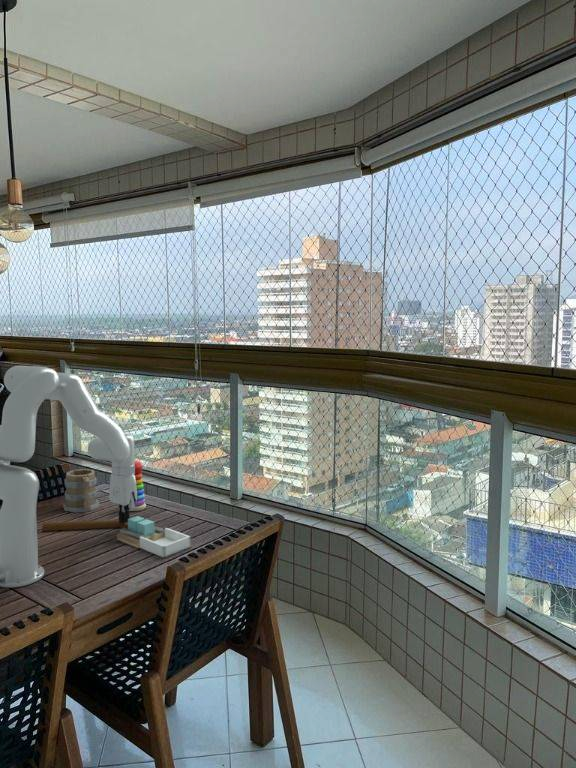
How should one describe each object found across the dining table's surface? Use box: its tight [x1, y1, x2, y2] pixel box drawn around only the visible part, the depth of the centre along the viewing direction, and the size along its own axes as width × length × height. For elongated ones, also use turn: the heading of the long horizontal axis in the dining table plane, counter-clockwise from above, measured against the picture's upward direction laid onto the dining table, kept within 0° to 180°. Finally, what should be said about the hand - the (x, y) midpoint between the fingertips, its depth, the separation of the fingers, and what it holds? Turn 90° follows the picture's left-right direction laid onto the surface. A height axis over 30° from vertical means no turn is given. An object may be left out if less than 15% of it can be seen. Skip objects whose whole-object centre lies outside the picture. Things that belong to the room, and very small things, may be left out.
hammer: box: [41, 516, 132, 532], centre depth 194 cm, size 12×3×30 cm
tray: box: [139, 527, 192, 559], centre depth 177 cm, size 11×12×4 cm
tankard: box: [62, 468, 100, 514], centre depth 211 cm, size 20×13×15 cm, turn 28°
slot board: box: [116, 525, 165, 548], centre depth 184 cm, size 12×11×3 cm
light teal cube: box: [137, 518, 155, 537], centre depth 183 cm, size 4×4×4 cm
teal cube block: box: [128, 515, 146, 533], centre depth 186 cm, size 4×4×4 cm
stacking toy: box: [129, 460, 147, 512], centre depth 213 cm, size 8×8×19 cm
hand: (124, 521), depth 190 cm, fingers closed
